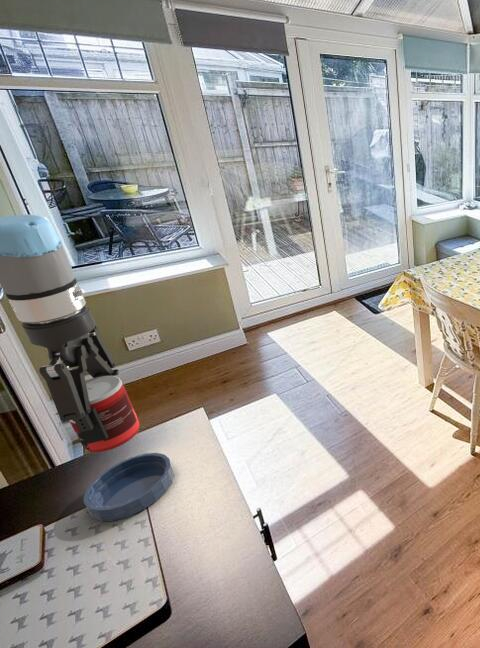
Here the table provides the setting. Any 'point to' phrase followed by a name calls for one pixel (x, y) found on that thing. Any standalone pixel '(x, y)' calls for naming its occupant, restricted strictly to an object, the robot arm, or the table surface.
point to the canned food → (110, 413)
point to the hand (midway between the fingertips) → (106, 423)
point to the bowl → (129, 486)
